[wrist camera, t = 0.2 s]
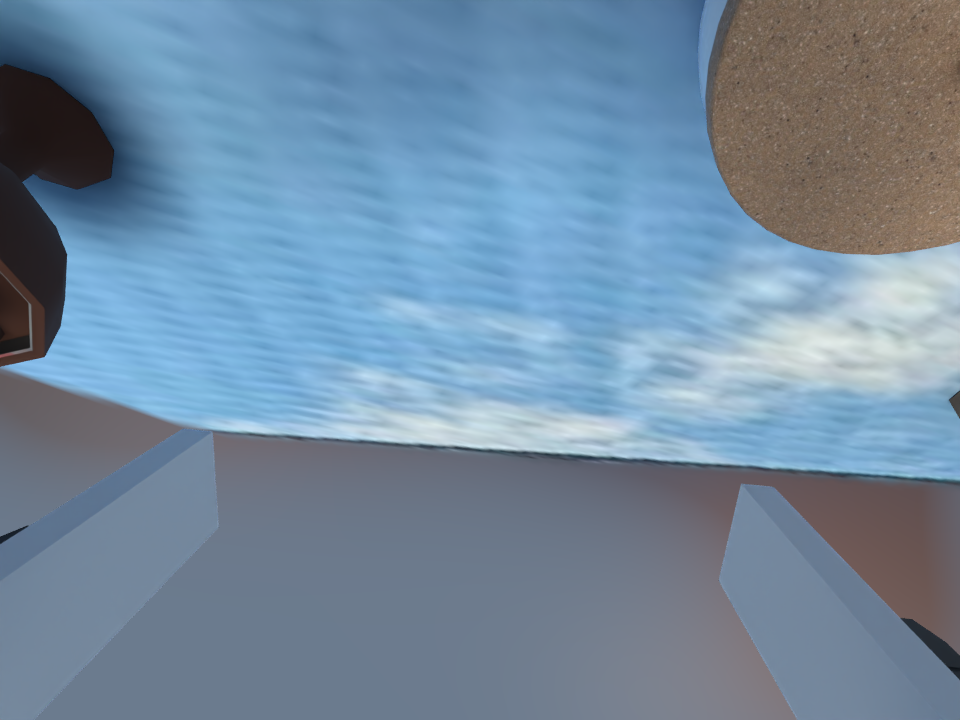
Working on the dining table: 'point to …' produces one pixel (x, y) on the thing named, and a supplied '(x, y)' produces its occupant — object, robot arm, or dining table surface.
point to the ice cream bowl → (19, 218)
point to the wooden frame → (956, 403)
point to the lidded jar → (837, 118)
